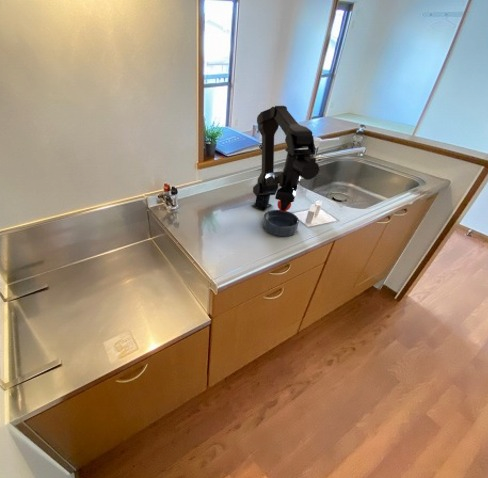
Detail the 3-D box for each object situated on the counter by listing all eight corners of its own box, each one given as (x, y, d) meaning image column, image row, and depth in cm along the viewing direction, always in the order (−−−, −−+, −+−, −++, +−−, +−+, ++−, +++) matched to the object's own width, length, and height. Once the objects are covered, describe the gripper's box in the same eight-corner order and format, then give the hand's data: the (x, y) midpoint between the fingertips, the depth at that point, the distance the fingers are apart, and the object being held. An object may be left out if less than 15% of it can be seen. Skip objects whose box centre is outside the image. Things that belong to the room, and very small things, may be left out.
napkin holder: (308, 227, 109) (312, 214, 106) (291, 213, 118) (294, 201, 114) (337, 220, 113) (342, 208, 110) (318, 207, 122) (322, 196, 119)
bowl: (273, 215, 116) (275, 206, 114) (302, 227, 109) (305, 218, 106) (256, 227, 109) (257, 218, 106) (285, 241, 101) (288, 231, 99)
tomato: (280, 205, 107) (283, 193, 104) (292, 210, 104) (295, 197, 101) (273, 209, 104) (276, 197, 101) (285, 214, 101) (288, 202, 98)
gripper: (274, 156, 104) (267, 193, 113) (264, 173, 90) (257, 214, 99) (304, 160, 100) (294, 198, 109) (299, 179, 86) (288, 221, 96)
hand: (283, 207), depth 103 cm, fingers closed on tomato, 5 cm apart
